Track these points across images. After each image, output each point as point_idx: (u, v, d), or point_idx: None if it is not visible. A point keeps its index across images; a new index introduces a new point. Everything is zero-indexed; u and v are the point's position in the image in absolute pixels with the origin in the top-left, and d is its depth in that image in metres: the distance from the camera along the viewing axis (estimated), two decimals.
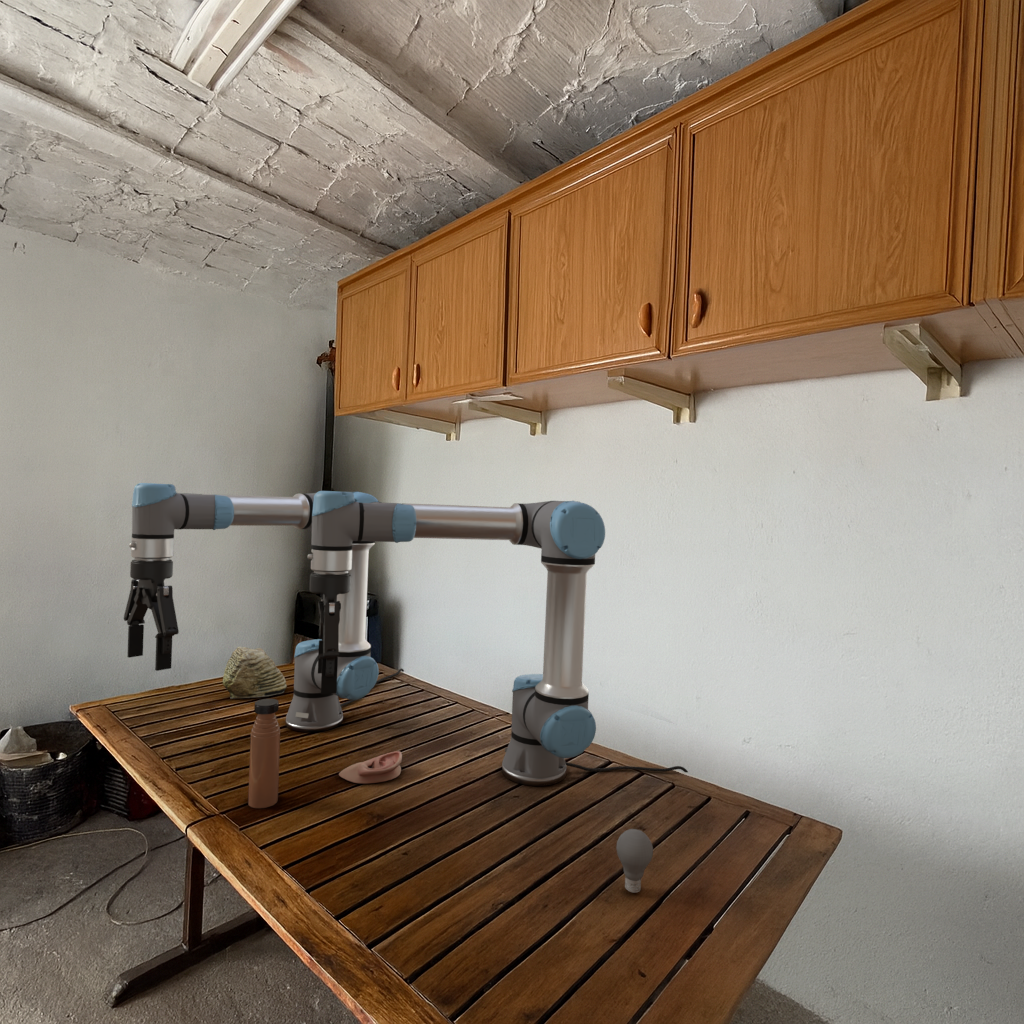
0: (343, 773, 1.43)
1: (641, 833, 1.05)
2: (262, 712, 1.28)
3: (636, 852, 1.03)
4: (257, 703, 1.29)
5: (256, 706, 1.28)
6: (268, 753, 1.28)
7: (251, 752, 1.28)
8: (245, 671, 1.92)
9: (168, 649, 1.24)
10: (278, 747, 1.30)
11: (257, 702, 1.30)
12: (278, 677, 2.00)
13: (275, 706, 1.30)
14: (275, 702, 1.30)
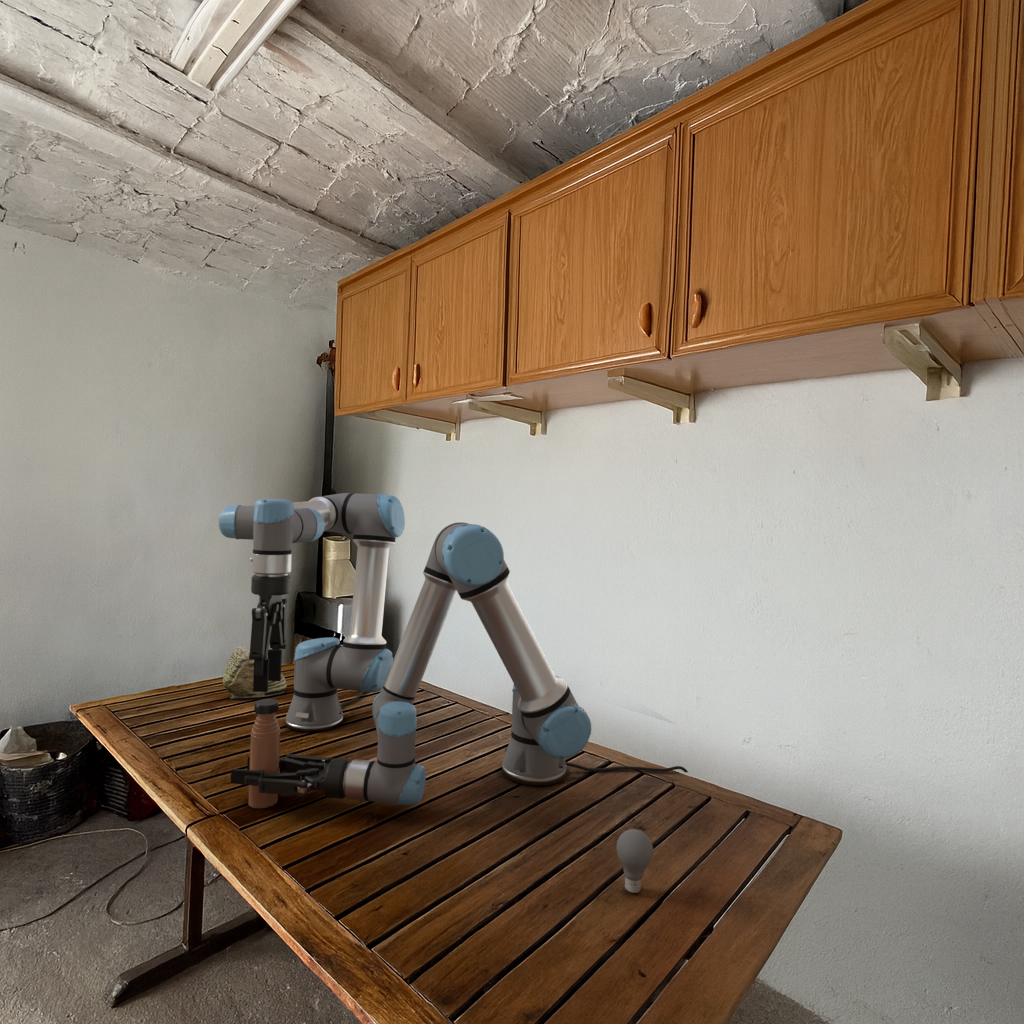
0: None
1: (641, 833, 1.05)
2: (262, 712, 1.28)
3: (636, 852, 1.03)
4: (257, 703, 1.29)
5: (256, 706, 1.28)
6: (268, 753, 1.28)
7: (251, 752, 1.28)
8: (245, 671, 1.92)
9: (259, 672, 1.25)
10: (278, 747, 1.30)
11: (257, 702, 1.30)
12: None
13: (275, 706, 1.30)
14: (275, 702, 1.30)
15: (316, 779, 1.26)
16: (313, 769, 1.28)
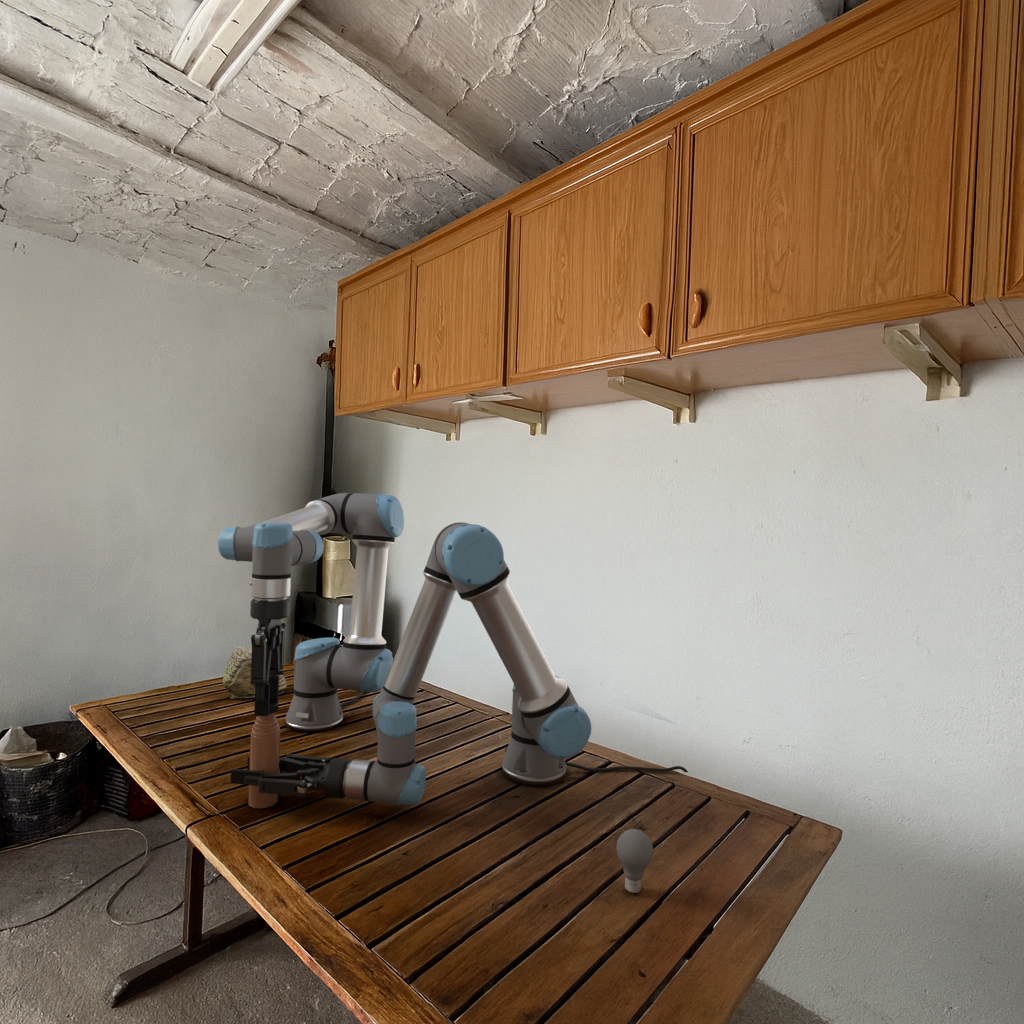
0: None
1: (641, 833, 1.05)
2: None
3: (636, 852, 1.03)
4: None
5: None
6: (268, 753, 1.28)
7: (251, 752, 1.28)
8: (245, 671, 1.92)
9: (260, 697, 1.26)
10: (278, 747, 1.30)
11: None
12: None
13: (275, 706, 1.30)
14: (275, 702, 1.30)
15: (316, 779, 1.26)
16: (313, 769, 1.28)
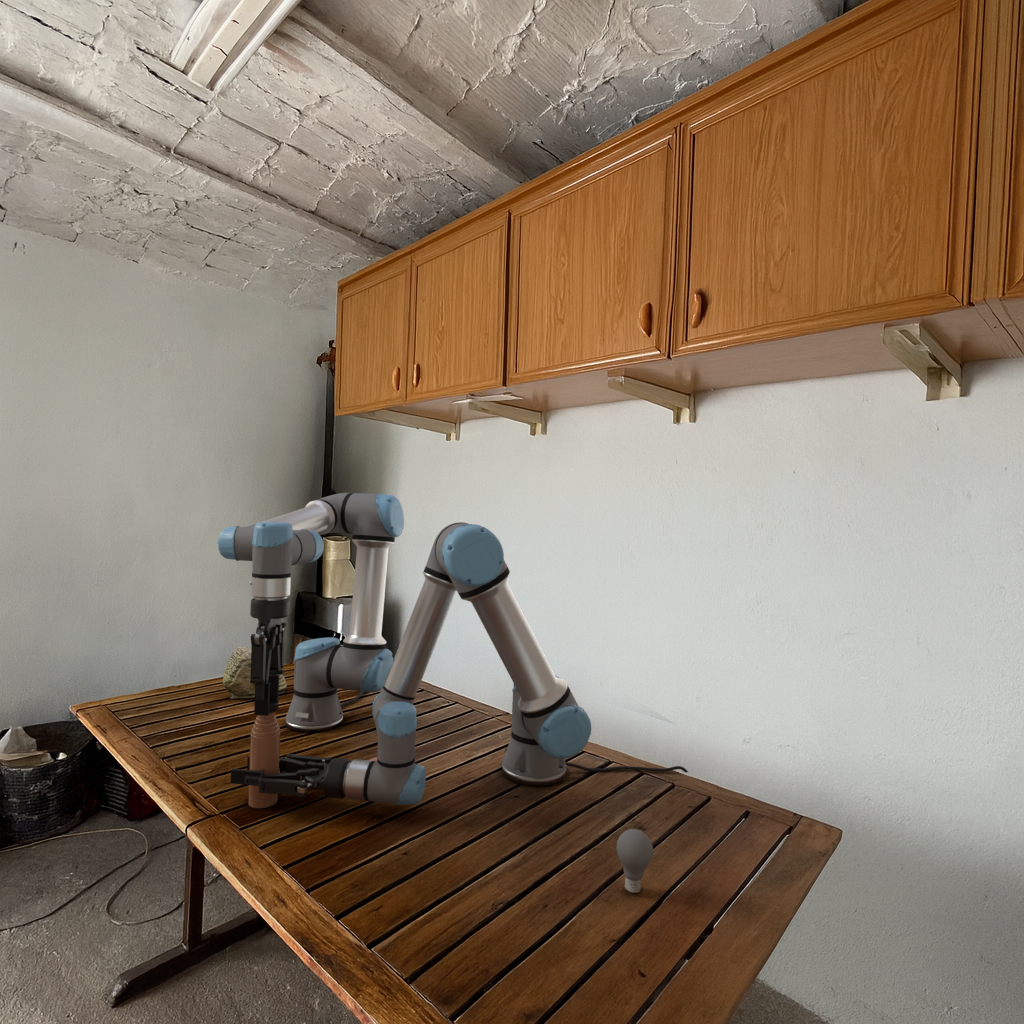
0: None
1: (641, 833, 1.05)
2: None
3: (636, 852, 1.03)
4: (274, 702, 1.30)
5: (277, 703, 1.30)
6: (268, 753, 1.28)
7: (251, 752, 1.28)
8: (245, 671, 1.92)
9: (260, 696, 1.26)
10: (278, 747, 1.30)
11: (271, 703, 1.29)
12: None
13: None
14: None
15: (316, 779, 1.26)
16: (313, 769, 1.28)
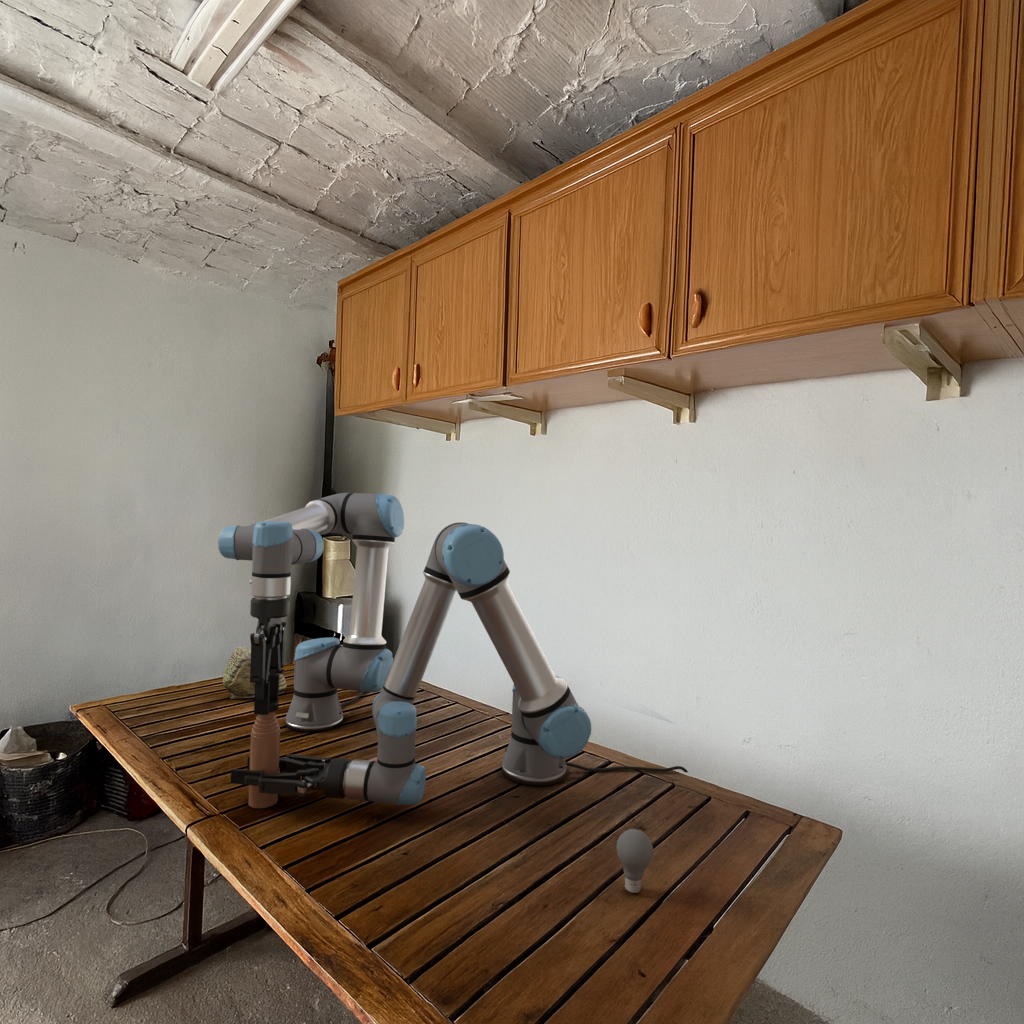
0: None
1: (641, 833, 1.05)
2: None
3: (636, 852, 1.03)
4: None
5: None
6: (268, 753, 1.28)
7: (251, 752, 1.28)
8: (245, 671, 1.92)
9: (260, 695, 1.26)
10: (278, 747, 1.30)
11: (270, 698, 1.32)
12: None
13: None
14: None
15: (316, 779, 1.26)
16: (313, 769, 1.28)
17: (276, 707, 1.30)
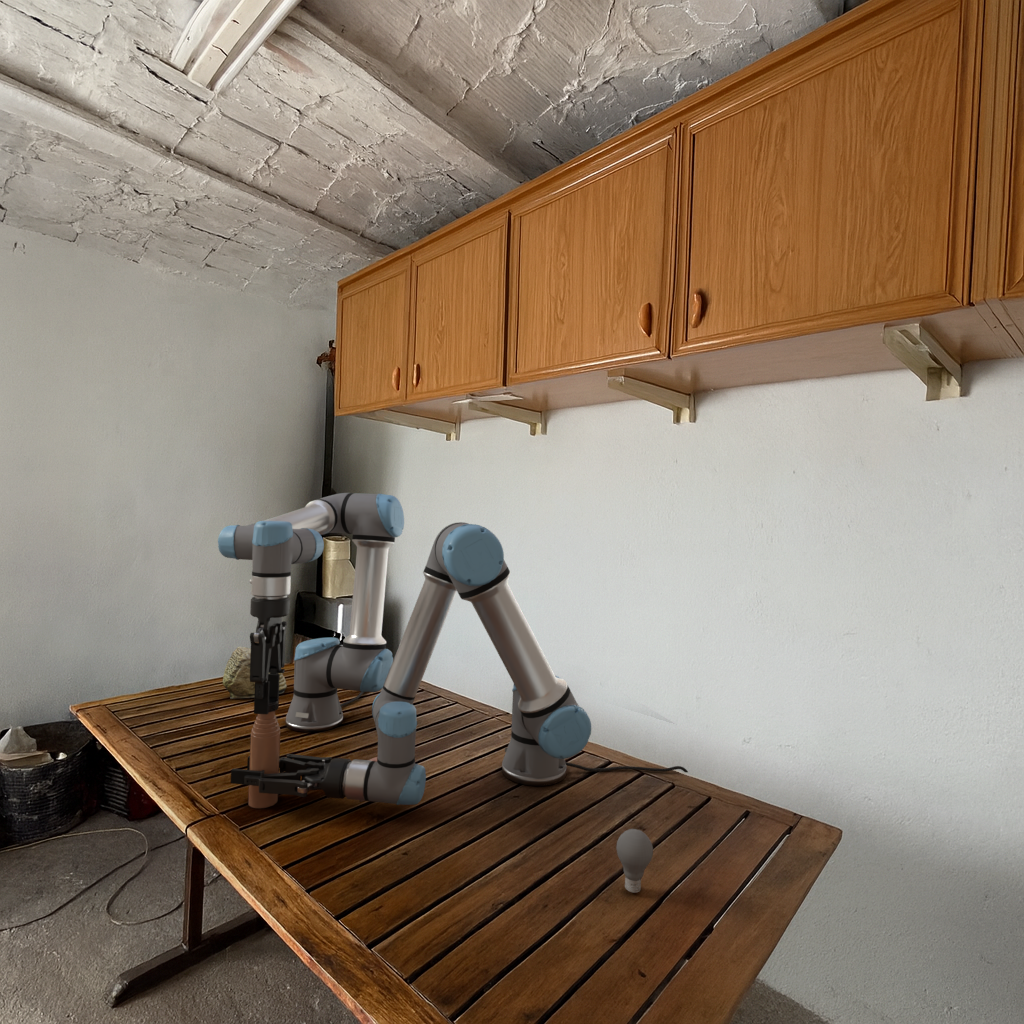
0: None
1: (641, 833, 1.05)
2: None
3: (636, 852, 1.03)
4: None
5: None
6: (268, 753, 1.28)
7: (251, 752, 1.28)
8: (245, 671, 1.92)
9: (260, 695, 1.26)
10: (278, 747, 1.30)
11: None
12: None
13: (277, 703, 1.30)
14: (275, 699, 1.31)
15: (316, 779, 1.26)
16: (313, 769, 1.28)
17: None
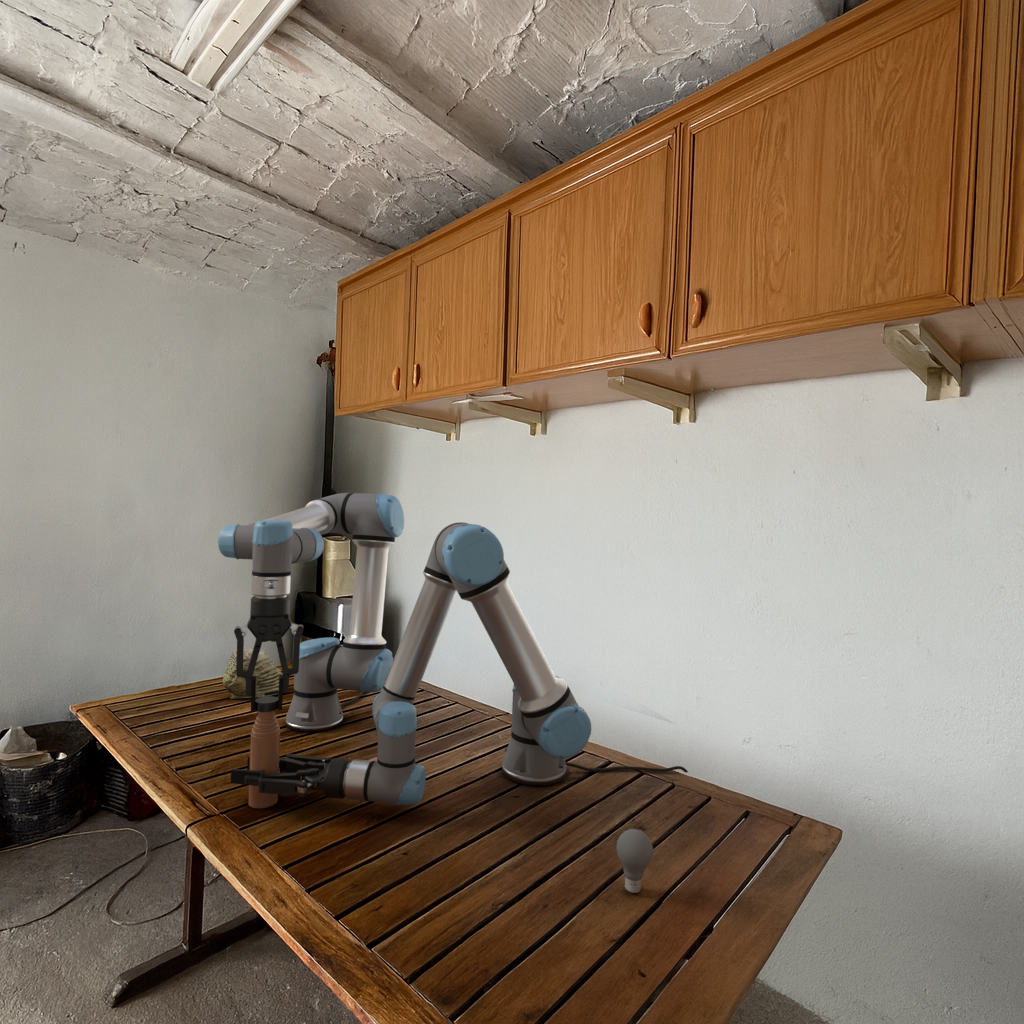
0: None
1: (641, 833, 1.05)
2: None
3: (636, 852, 1.03)
4: (275, 700, 1.30)
5: None
6: (268, 753, 1.28)
7: (251, 752, 1.28)
8: None
9: None
10: (278, 747, 1.30)
11: (272, 701, 1.29)
12: (278, 677, 2.00)
13: None
14: (262, 697, 1.31)
15: (316, 779, 1.26)
16: (313, 769, 1.28)
17: (255, 707, 1.29)
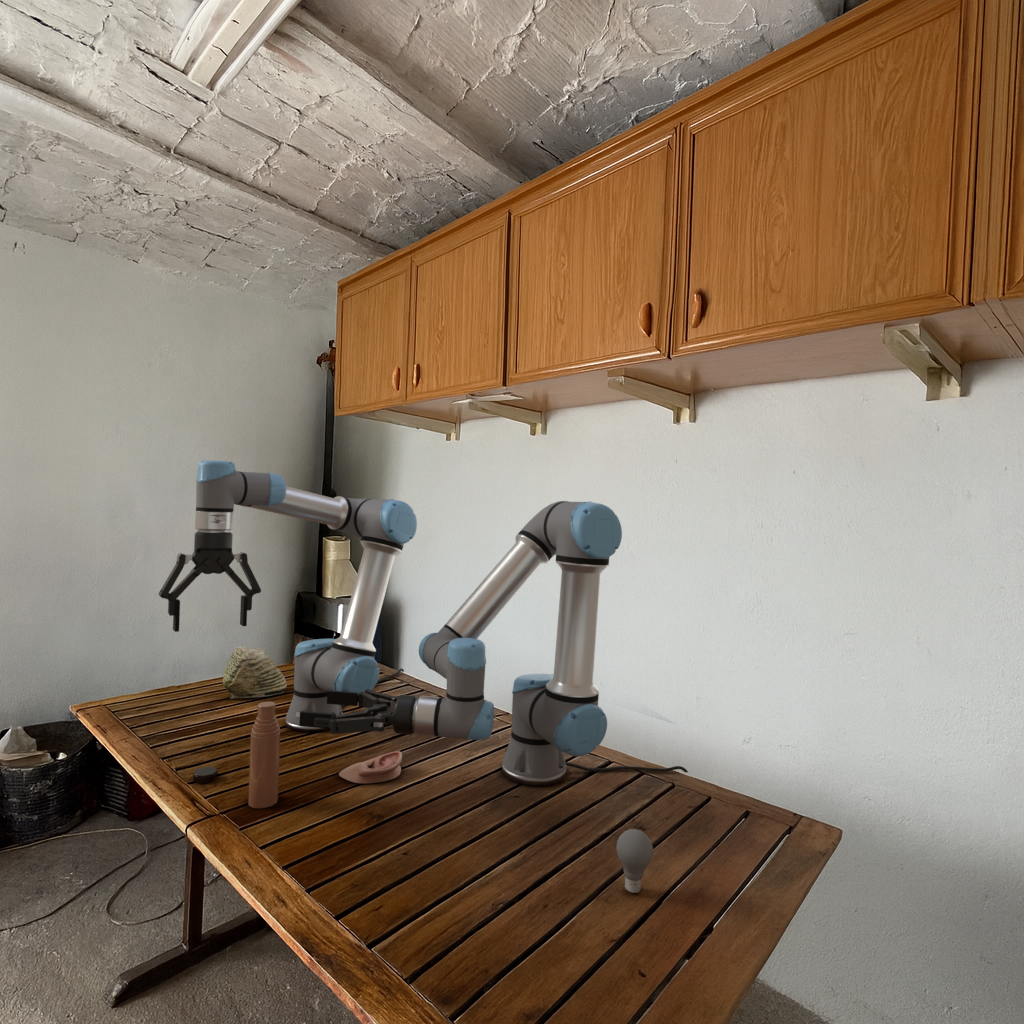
0: (343, 773, 1.43)
1: (641, 833, 1.05)
2: None
3: (636, 852, 1.03)
4: (214, 771, 1.40)
5: (216, 771, 1.40)
6: (268, 753, 1.28)
7: (251, 752, 1.28)
8: (245, 671, 1.92)
9: None
10: (278, 747, 1.30)
11: (212, 772, 1.39)
12: (278, 677, 2.00)
13: None
14: (199, 769, 1.40)
15: (387, 713, 1.24)
16: (381, 705, 1.26)
17: (196, 779, 1.38)
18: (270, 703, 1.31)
